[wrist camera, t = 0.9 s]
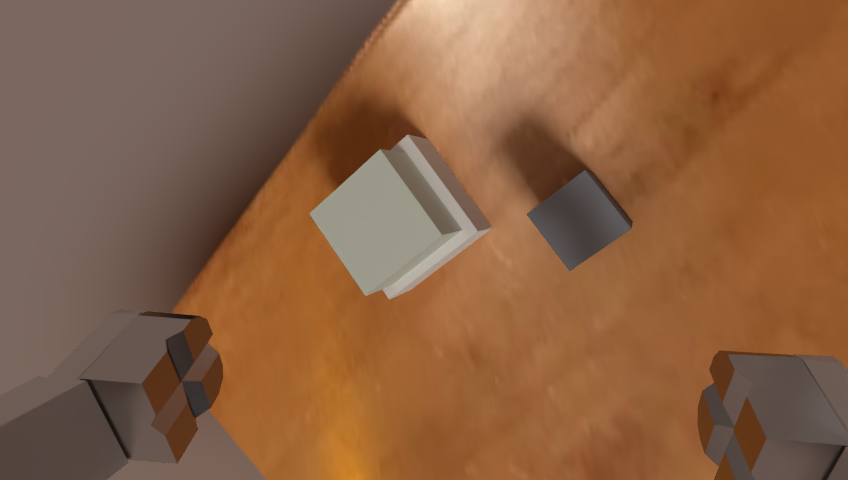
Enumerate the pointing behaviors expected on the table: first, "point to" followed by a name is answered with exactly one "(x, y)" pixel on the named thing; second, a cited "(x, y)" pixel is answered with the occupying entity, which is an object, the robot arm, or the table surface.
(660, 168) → the table surface
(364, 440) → the table surface
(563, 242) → the charcoal block
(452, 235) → the tower top
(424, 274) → the tower base
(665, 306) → the table surface
